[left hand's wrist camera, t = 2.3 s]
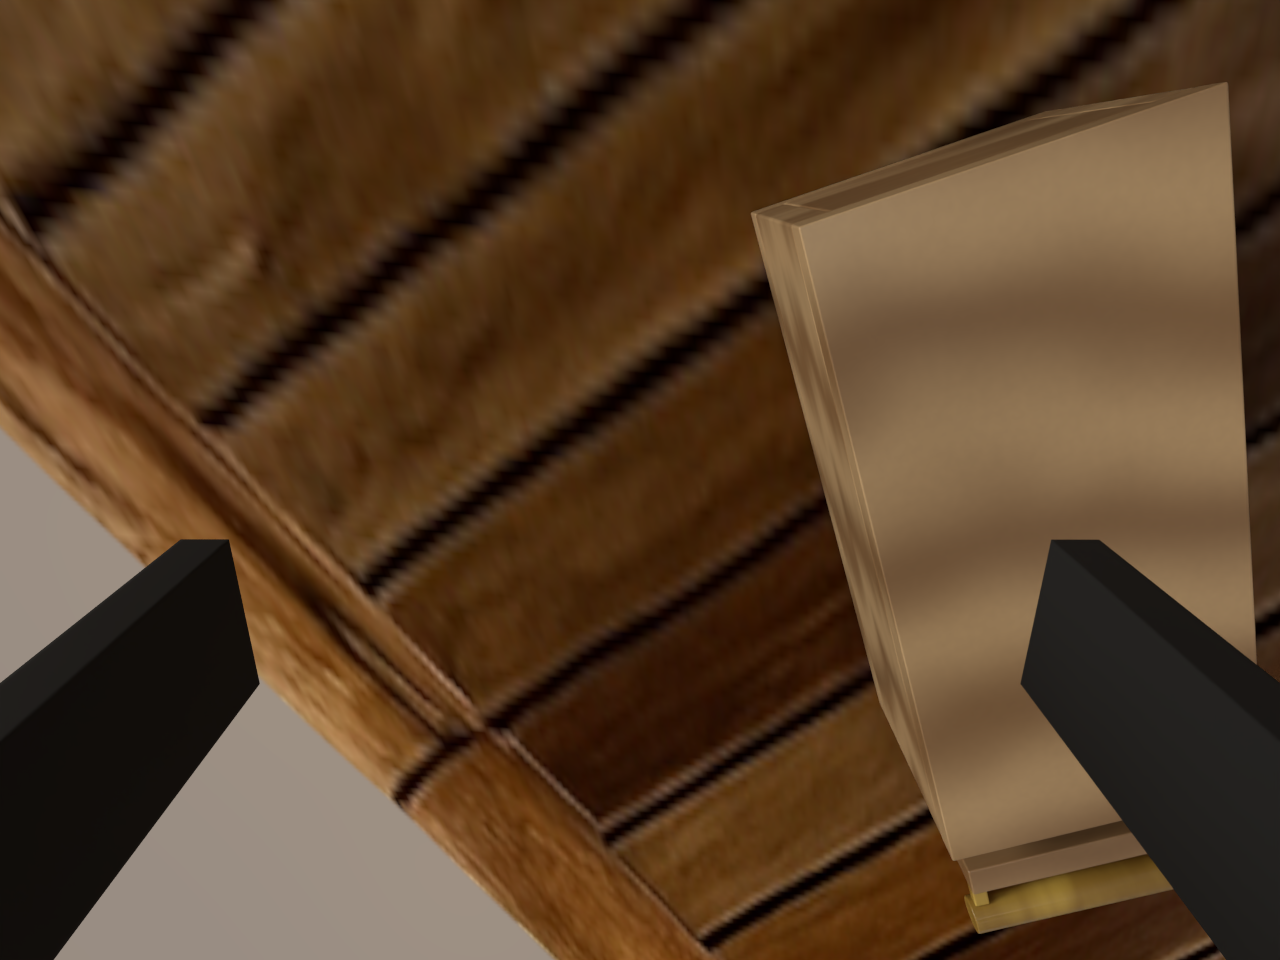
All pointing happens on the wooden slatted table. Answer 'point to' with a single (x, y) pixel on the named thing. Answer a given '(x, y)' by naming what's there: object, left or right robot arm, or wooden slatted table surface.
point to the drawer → (1058, 877)
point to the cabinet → (1020, 417)
